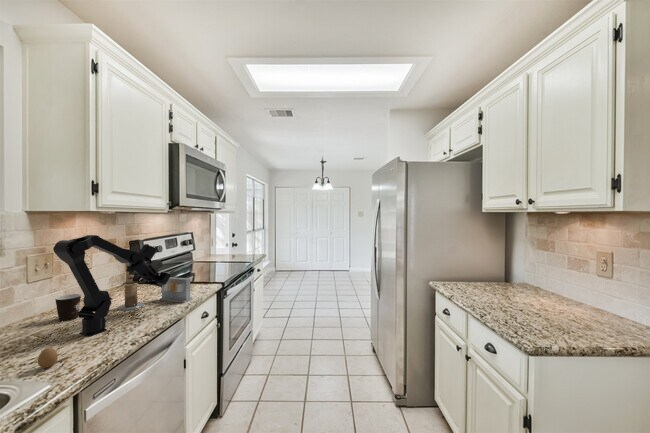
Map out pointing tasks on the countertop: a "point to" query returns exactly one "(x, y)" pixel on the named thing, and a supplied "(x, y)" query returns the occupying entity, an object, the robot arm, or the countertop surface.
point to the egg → (47, 358)
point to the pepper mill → (130, 292)
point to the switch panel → (176, 290)
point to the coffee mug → (68, 306)
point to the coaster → (123, 308)
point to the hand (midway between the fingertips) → (161, 286)
